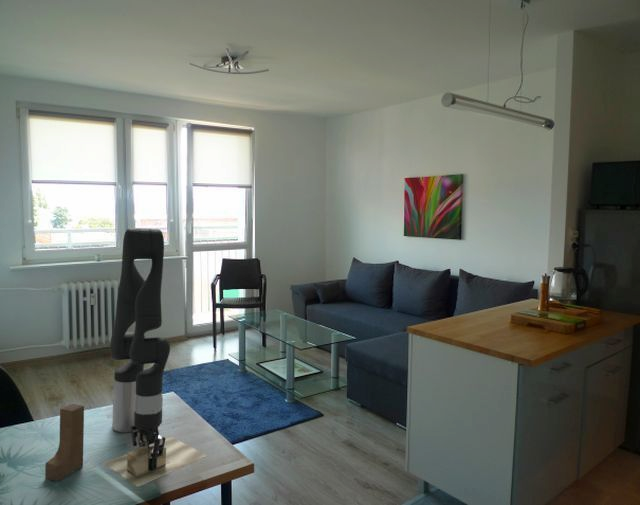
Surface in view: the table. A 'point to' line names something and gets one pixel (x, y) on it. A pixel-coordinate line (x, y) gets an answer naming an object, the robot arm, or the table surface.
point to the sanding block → (143, 461)
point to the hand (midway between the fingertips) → (146, 465)
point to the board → (175, 459)
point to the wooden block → (68, 444)
